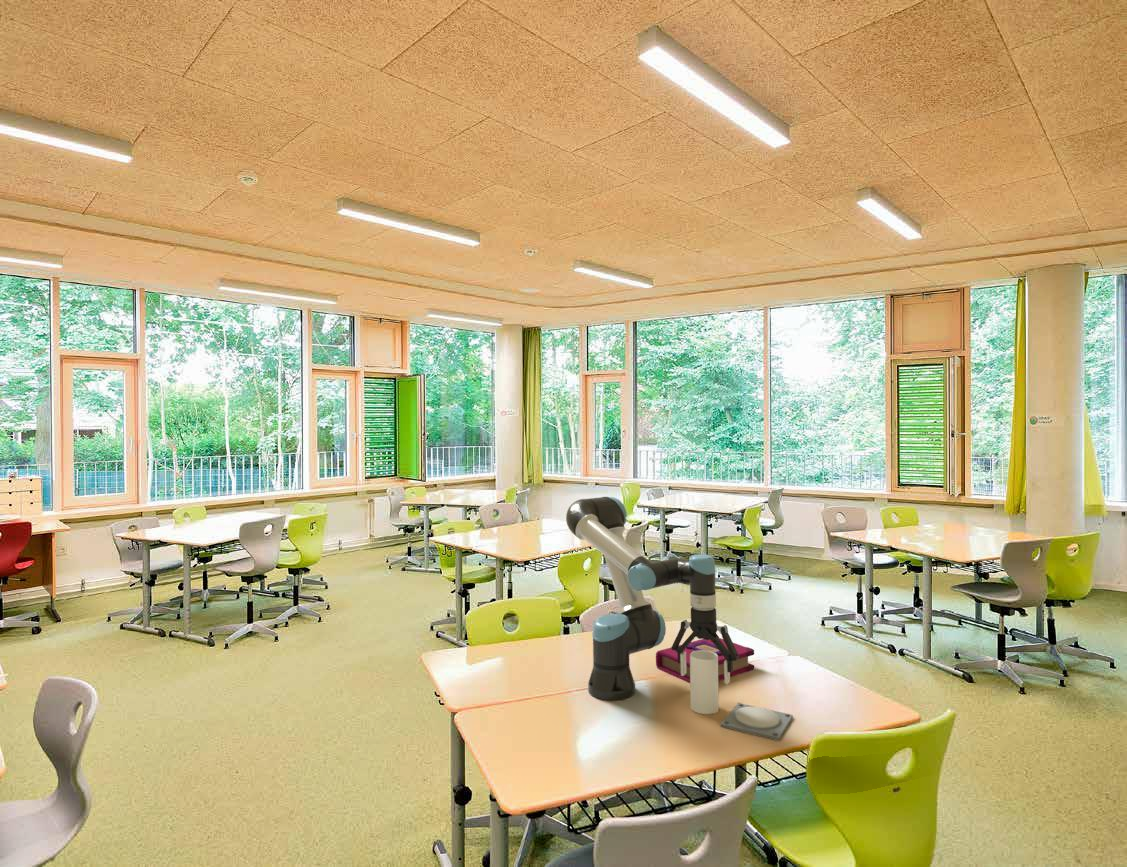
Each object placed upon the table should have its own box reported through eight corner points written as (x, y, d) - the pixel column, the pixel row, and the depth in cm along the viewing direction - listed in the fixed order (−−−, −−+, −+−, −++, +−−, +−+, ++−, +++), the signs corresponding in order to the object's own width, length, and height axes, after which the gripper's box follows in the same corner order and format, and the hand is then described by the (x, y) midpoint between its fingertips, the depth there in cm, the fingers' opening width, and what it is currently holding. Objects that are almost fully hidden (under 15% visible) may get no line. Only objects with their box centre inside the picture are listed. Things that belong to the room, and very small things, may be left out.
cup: (719, 715, 183) (718, 660, 183) (690, 713, 185) (689, 658, 185) (718, 703, 191) (717, 651, 192) (690, 701, 193) (689, 649, 193)
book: (655, 669, 221) (655, 647, 221) (711, 653, 237) (711, 633, 237) (699, 688, 204) (698, 665, 204) (756, 670, 219) (755, 648, 219)
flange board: (720, 726, 176) (720, 720, 176) (738, 705, 190) (738, 699, 190) (779, 740, 168) (778, 734, 168) (792, 717, 181) (792, 711, 181)
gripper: (659, 605, 192) (661, 674, 192) (740, 615, 178) (742, 690, 178) (669, 599, 198) (671, 667, 198) (748, 609, 185) (750, 681, 184)
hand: (705, 678), depth 188 cm, fingers open, 13 cm apart
